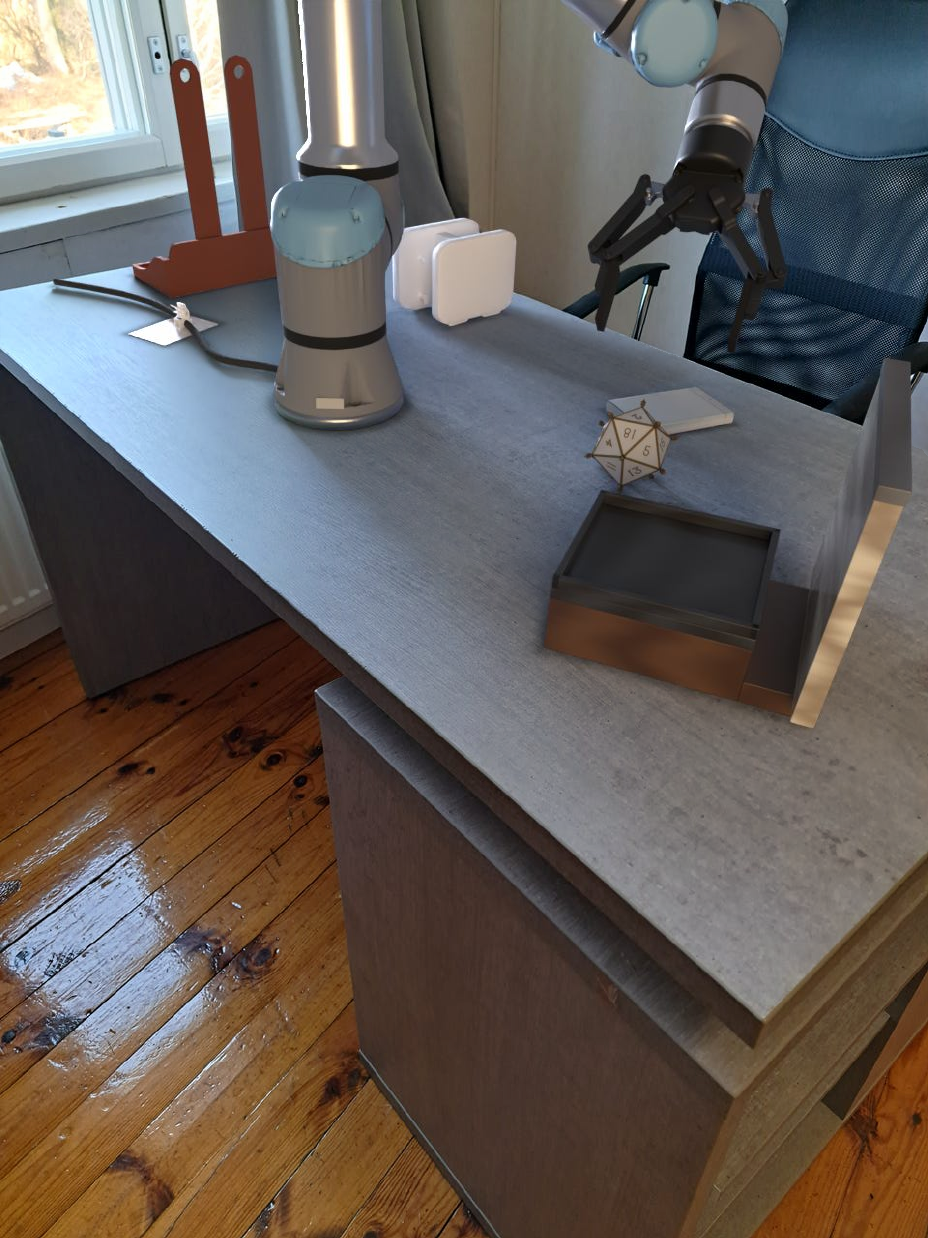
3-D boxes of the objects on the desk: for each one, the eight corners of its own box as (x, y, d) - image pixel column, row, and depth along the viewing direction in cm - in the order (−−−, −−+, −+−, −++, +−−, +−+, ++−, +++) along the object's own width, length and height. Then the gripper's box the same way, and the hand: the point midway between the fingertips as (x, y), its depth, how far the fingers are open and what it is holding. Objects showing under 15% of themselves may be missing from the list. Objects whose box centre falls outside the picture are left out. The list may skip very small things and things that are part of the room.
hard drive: (643, 428, 96) (735, 411, 100) (606, 398, 102) (694, 383, 106) (641, 441, 97) (732, 424, 101) (605, 411, 103) (692, 396, 107)
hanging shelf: (267, 250, 149) (245, 43, 131) (308, 269, 142) (290, 53, 123) (134, 275, 137) (88, 50, 118) (170, 297, 129) (127, 61, 110)
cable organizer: (434, 332, 121) (434, 246, 114) (390, 311, 128) (388, 227, 120) (513, 311, 129) (518, 229, 121) (469, 292, 135) (471, 213, 128)
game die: (606, 516, 91) (557, 451, 86) (627, 458, 95) (583, 392, 89) (682, 503, 85) (635, 432, 79) (702, 442, 89) (659, 370, 83)
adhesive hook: (195, 326, 120) (192, 303, 118) (182, 331, 119) (177, 309, 117) (180, 321, 122) (176, 299, 120) (166, 327, 120) (162, 304, 118)
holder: (531, 671, 66) (557, 420, 53) (600, 538, 81) (634, 316, 68) (806, 751, 61) (912, 492, 47) (826, 592, 75) (910, 361, 62)
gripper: (836, 181, 89) (785, 371, 88) (604, 156, 96) (552, 333, 95) (850, 131, 82) (794, 338, 81) (598, 109, 89) (542, 298, 88)
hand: (663, 335), depth 88 cm, fingers open, 13 cm apart
